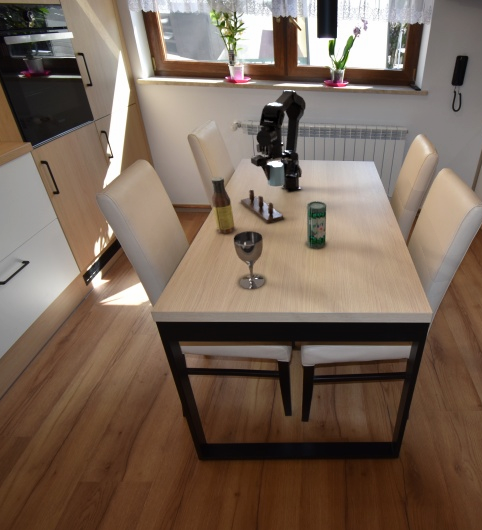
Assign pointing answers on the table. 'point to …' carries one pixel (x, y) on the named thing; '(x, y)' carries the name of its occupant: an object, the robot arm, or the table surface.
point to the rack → (261, 208)
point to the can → (316, 224)
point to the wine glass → (249, 255)
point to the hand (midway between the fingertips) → (276, 178)
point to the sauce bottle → (222, 206)
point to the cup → (276, 174)
